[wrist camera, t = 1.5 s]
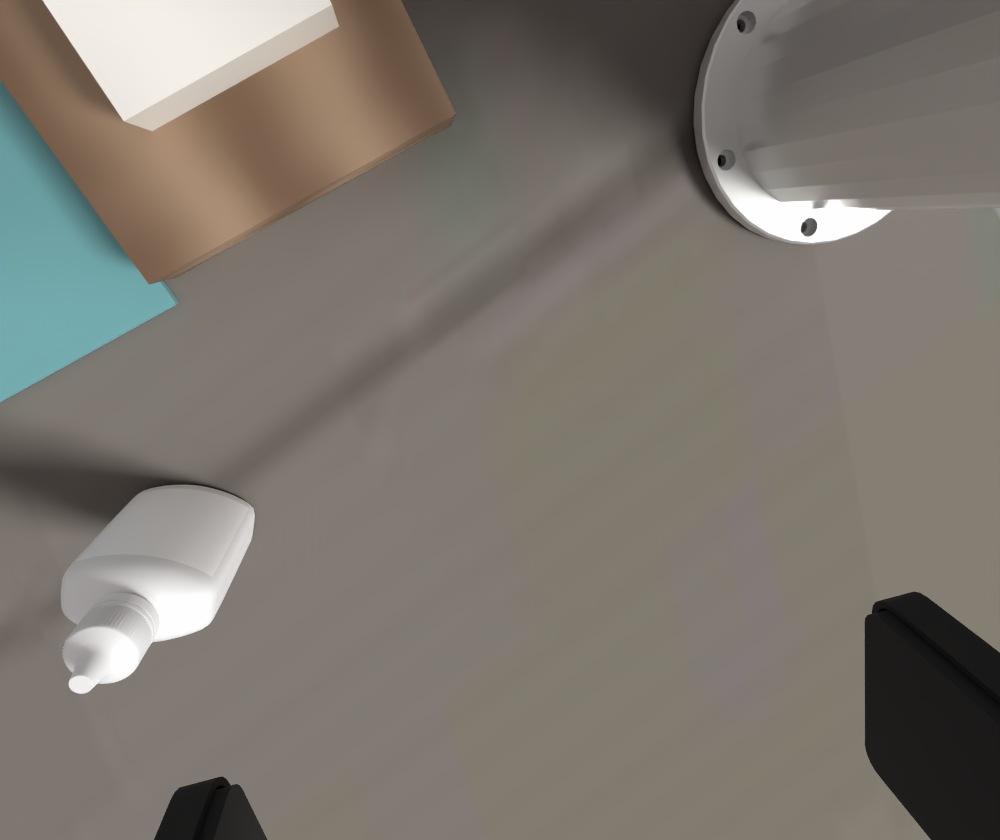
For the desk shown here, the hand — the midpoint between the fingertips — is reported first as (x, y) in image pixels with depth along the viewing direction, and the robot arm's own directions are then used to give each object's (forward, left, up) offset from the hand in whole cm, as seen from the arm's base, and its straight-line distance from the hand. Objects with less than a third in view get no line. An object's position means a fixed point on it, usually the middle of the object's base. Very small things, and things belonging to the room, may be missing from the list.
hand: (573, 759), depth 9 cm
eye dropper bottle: (+15, 0, -23) cm, 28 cm away
